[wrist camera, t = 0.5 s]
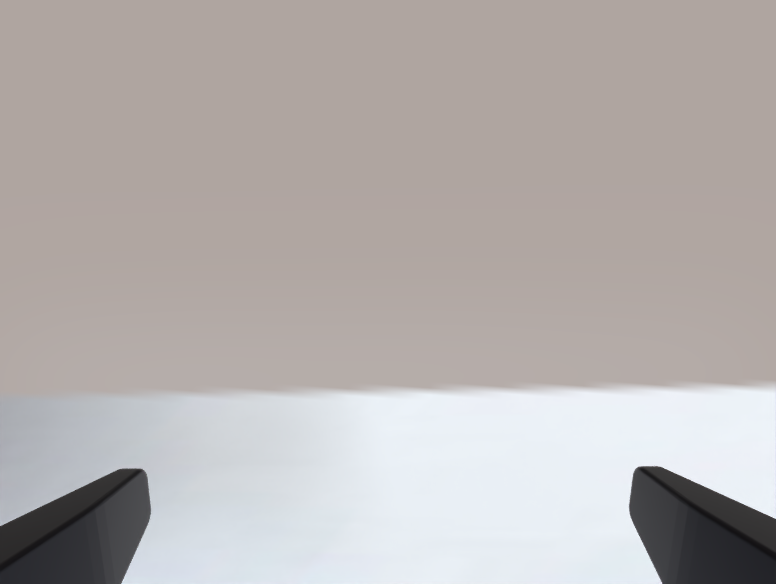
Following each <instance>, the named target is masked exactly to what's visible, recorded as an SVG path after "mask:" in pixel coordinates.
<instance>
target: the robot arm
mask: <svg viewBox="0 0 776 584" xmlns="http://www.w3.org/2000/svg"><path fill="white" fill-rule="evenodd" d="M629 511H630V516H631V519H632V522H633V524H634V526H635V528H636V530H637V532H638V534H639V536H640V538H641V540H642V542H643V544H644V546H645V548H646V551H647V553H648V555H649V557H650V559H651V561H652V563H653V565H654V567H655V569H656V571H657V573H658V575H659V577H660V579H661V582H662V584H776V519H775V518H772V517H770V516H768V515H766V514H763V513H761V512H759V511H757V510H755V509H752V508H750V507H748V506H746V505H744V504H741V503H739V502H737V501H735V500H733V499H730V498H728V497H726V496H724V495H722V494H719V493H717V492H715V491H713V490H711V489H708V488H706V487H704V486H702V485H700V484H697V483H695V482H693V481H691V480H689V479H686V478H684V477H682V476H680V475H677V474H675V473H673V472H671V471H669V470H666V469H664V468H662V467H658V466H641V467H638V468H636V469H635V471H634V473H633V479H632V487H631V495H630V503H629ZM150 514H151V505H150V496H149V488H148V479H147V474H146V472H145V471H144V470H143V469H119V470H117V471H115V472H113V473H110V474H108V475H106V476H104V477H102V478H100V479H98V480H96V481H94V482H92V483H90V484H88V485H85V486H83V487H81V488H79V489H77V490H75V491H73V492H71V493H69V494H67V495H65V496H62V497H60V498H58V499H56V500H54V501H52V502H50V503H48V504H46V505H44V506H42V507H40V508H37V509H35V510H33V511H31V512H29V513H27V514H25V515H23V516H21V517H19V518H17V519H15V520H12V521H10V522H8V523H6V524H4V525H2V526H0V584H121V583H122V581H123V579H124V576H125V574H126V572H127V570H128V567H129V565H130V563H131V561H132V558H133V556H134V554H135V552H136V550H137V547H138V545H139V543H140V541H141V538H142V536H143V534H144V532H145V529H146V527H147V525H148V522H149V519H150Z"/></svg>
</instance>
